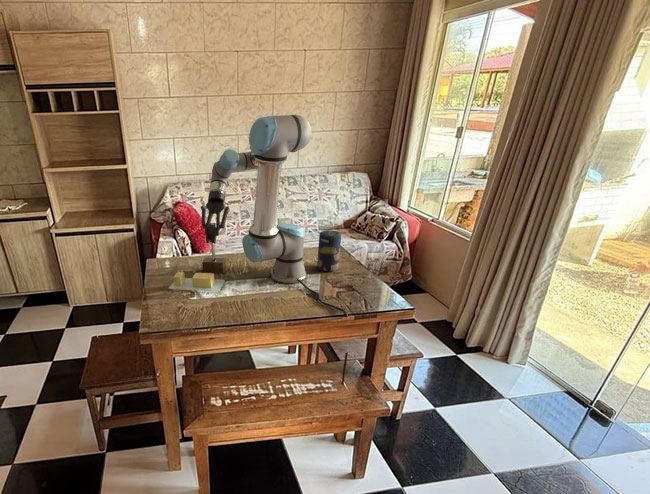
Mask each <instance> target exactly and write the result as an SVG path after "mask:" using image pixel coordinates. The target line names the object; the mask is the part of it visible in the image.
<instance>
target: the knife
mask: <svg viewBox="0 0 650 494" xmlns="http://www.w3.org/2000/svg"><path fill="white" fill-rule="evenodd" d="M208 226H209V243H210V245H211V247H210V248H211V258H212V262H214V261H215V258H216V246H215V244H216V243H213V234H214V227H216V222H211V223H210V224H209V225H208Z"/></svg>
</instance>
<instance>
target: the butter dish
mask: <svg viewBox="0 0 650 494" xmlns="http://www.w3.org/2000/svg"><path fill="white" fill-rule="evenodd" d="M192 278H193V277H191V278H189V277H185V282H184V283H183V284H182V286H174V281H173V282H172V283H171V284H170V286H168V290H185V291H203V292H205V291H206V292H220V290H221V288H222V287H223V285H224V283H225V279H215V278H214V284H213V285H212V287H211V288H207V287H193V282H192Z"/></svg>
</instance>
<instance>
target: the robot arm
mask: <svg viewBox="0 0 650 494" xmlns="http://www.w3.org/2000/svg"><path fill="white" fill-rule="evenodd" d="M249 130H250V131H249V134H248V144H249V149H250V151H246V152H237V151H236V150H234V149H231V148H228V149H226V150H224V151H223V152H222V154H221V155H220V157H219V159H218V160H217V161H215V162H214V163H213V165H212V168H211V177H210V178H211V179H210V183H209V191H208V197H207V203H206V204H205V205H204V206H203V205H201V206H200V210H201V227H202V228H203V229H204V236H205V242H206V244H209V243H210V242H209V226H208V225H209V224H210V223H212V219H213V217H214V215H216V216H215V227H214V234H213V243H215V244H216V243H217V237H219V235H220V231H221V229H222V230H224V229H225V226H226V222H227V218H228V214H229V213H230V211H231V209H230V206H228V205H227V206H226V204H225V203H226V194H227V187H228V181H229V178H230V176H231V175H232V173H237V172H245V171H254V170H255V171H256V172H257V174H256V185H255V198H254V209H253V210H254V211H253V223H252V224H251V225H250V226H249V228H248V234H245V235H244V236H243V237H242V242H241V243H242V249H243V252H244V254H245V256H246V258H247V259H248V261H250V262H251V263H263V262H266V261H270V260H274V263H273V267H272V268H270V278H271V279H272V280H273V281H275V282H277V283H281V284H297V283H298V284H299V283H300V284H301V285H302V286H303V287H304V288H305V289H306V290H307V291H309V292H311V293H312V294H315V295H316V296H317V300H318V301H319V303H320V304H322V305H324V306H327V307H330V308H333V309H335V310H338V311H341V312H342V313H343V314H344V317H345V318H349V315H348V312H347V311H346V310H345V309H343V308H341V307H339V306H336V305H333V304H331V303H329V302H325V301H323V300H322V298H321V295H320V294H319V293H318V292H317V291H315V290H313V289H312V288H309V287H308V286H307V285H306V284H305V283H304V282H303V281H305V280H306V279H307V271H306V269H305V268H306V267H305V264H304V247H305V246H304V243H305V229H304V228H303V226H301V225H298V224H294V223H286V222H283V223H278V224H276V221H277V220H276V219H277V211H278V201H279V192H280V185H281V177H282V176H281V175H282V167H283V164H284V163H285V162H286V161H287V159H288V153H296V152H298V151H300V150H303V149H304V148H306V147H307V146H308V144H309V143H310V141H311V138H312V131H313V130H312V127H311V124H310V123H309V120H308V119H306V117H304V116H302V115H299V114H288V115H287V114H284V115H283V114H282V115H266V116H261V117H258V118H257V119H255V121H254V122H253V123H252V124H251V127H250V129H249ZM207 210H208V214H207V218H206V212H207ZM222 212H223V214H222V217H221V213H222ZM348 355H349V352H348V351H347V352H345V354H344V362H343V370H342V375H341V385H342V386H344V385H345V377H346V370H347V363H348Z"/></svg>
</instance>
